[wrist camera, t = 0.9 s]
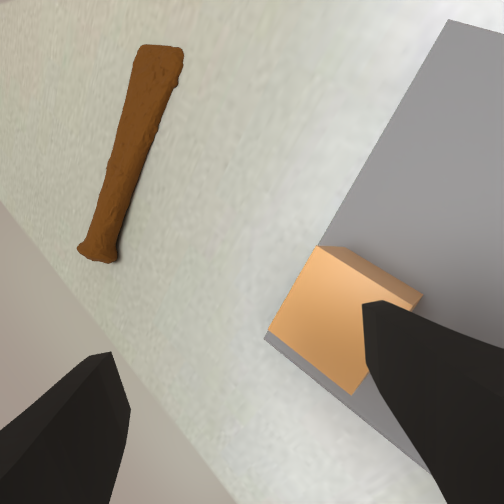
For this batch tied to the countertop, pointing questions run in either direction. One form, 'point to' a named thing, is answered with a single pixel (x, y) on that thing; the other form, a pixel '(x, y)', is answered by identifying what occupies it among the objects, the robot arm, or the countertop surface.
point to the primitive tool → (132, 144)
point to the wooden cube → (336, 312)
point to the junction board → (433, 205)
